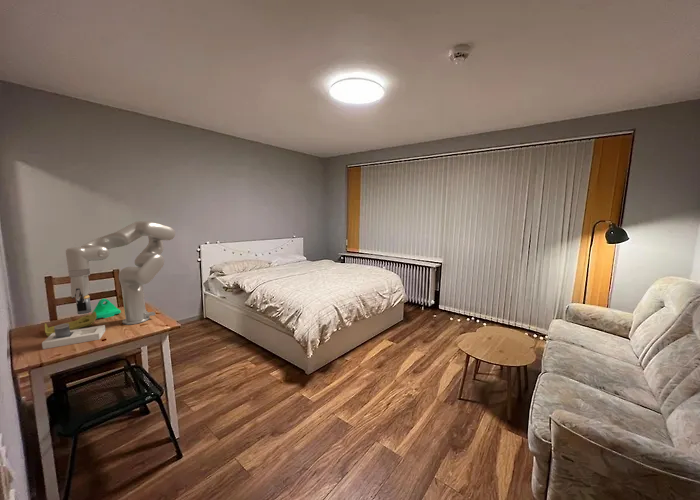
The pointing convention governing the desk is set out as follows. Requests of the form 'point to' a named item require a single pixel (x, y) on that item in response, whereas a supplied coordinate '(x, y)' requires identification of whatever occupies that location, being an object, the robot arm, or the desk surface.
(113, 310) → the camera mount
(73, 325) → the plastic component
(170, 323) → the desk surface
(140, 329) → the desk surface
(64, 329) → the grey cylinder
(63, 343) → the tray
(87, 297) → the gray jar
